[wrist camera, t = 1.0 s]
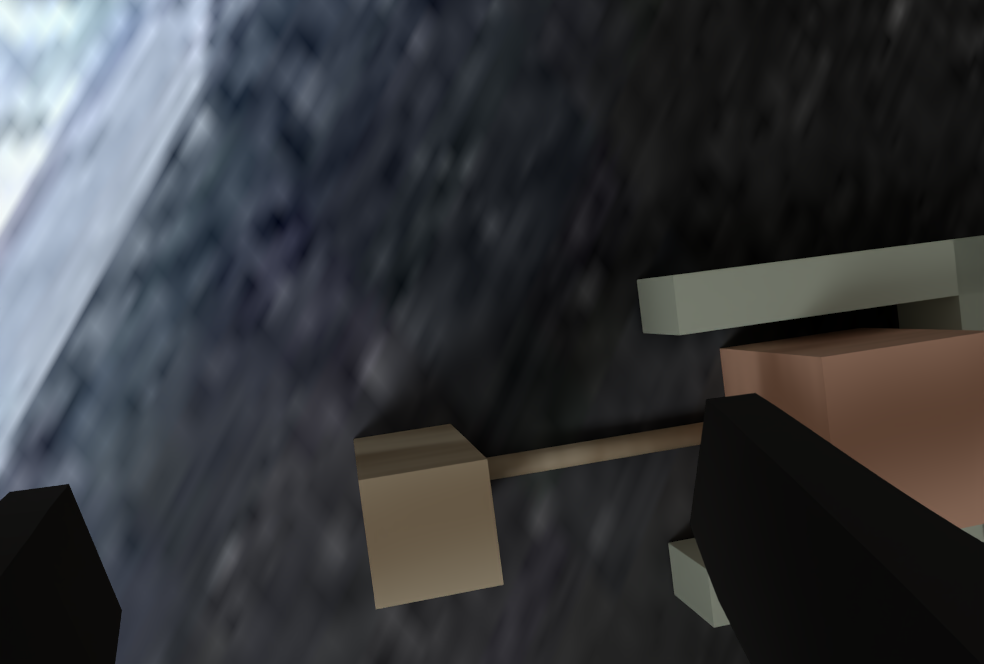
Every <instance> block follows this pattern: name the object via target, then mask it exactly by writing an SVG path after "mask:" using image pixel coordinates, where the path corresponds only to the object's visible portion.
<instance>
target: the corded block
mask: <svg viewBox="0 0 984 664" xmlns="http://www.w3.org/2000/svg"><path fill="white" fill-rule="evenodd" d="M720 355H721V363H722V372H723V381H724V389H725V397H727V396H735V395H742V394H750V393H756V394H758V395H760V396H761V397H763V398H764V399H766V400H768V401H769V402H771V403H772V404H774V405H775V406H777V407H778V408H780V409H781V410H783V411H784V412H786V413H787V414H789V415H790V416H792V417H793V418H795V419H796V420H797V421H799V422H800V423H802V424H803V425H805V426H806V427H808V428H809V429H811V430H812V431H814V432H815V433H816V434H818V435H819V436H821V437H822V438H824V439H825V440H827V441H828V442H830V443H831V444H832V445H834V446H835V447H837V448H838V449H840V450H841V451H843V452H844V453H846V454H847V455H849V456H850V457H851V458H853V459H854V460H856V461H857V462H859V463H860V464H862V465H863V466H865V467H866V468H868V469H869V470H871V471H872V472H874V473H875V474H877V475H878V476H880V477H881V478H883V479H884V480H886V481H887V482H889V483H890V484H892V485H893V486H895V487H896V488H898V489H899V490H901V491H902V492H904V493H905V494H907V495H908V496H910V497H911V498H913V499H914V500H916V501H918V502H919V503H921V504H922V505H924V506H925V507H927V508H928V509H930V510H932V511H933V512H935V513H936V514H938V515H940V516H941V517H943V518H944V519H946V520H948V521H949V522H951V523H952V524H954V525H956V526H957V527H959V528H960V529H961V528H966V527H971V526H976V525H981V524H984V331H979V330H937V329H894V328H855V329H848V330H841V331H835V332H828V333H821V334H814V335H808V336H801V337H794V338H787V339H780V340H774V341H767V342H760V343H753V344H747V345H740V346H733V347H726V348H720ZM702 428H703V422H700V423H694V424H688V425H682V426H676V427H670V428H664V429H658V430H652V431H646V432H639V433H633V434H627V435H621V436H615V437H609V438H603V439H597V440H591V441H585V442H579V443H573V444H567V445H561V446H554V447H548V448H542V449H536V450H530V451H524V452H518V453H512V454H506V455H500V456H494V457H488V458H486V457H485V456H483V455H482V454H481V453H480V452H479V451H478V450H477V449H476V448H475V447H474V446H473V445H472V444H471V443H470V442H469V441H468V440H467V439H466V438H465V437H464V436H463V435H462V434H461V433H460V432H459V431H458V430H457V429H455V428H454V427H453V426H452V425H451V424H446V425H440V426H433V427H427V428H420V429H414V430H408V431H401V432H395V433H388V434H382V435H375V436H369V437H363V438H356V439H353V440H354V448H355V456H356V464H357V472H358V480H359V488H360V495H361V502H362V510H363V517H364V524H365V532H366V539H367V546H368V554H369V561H370V568H371V576H372V583H373V590H374V598H375V605H376V609H380V608H385V607H390V606H396V605H401V604H406V603H411V602H416V601H421V600H426V599H432V598H437V597H442V596H447V595H452V594H457V593H462V592H468V591H473V590H478V589H483V588H488V587H493V586H499V585H503V577H502V569H501V561H500V554H499V546H498V538H497V530H496V523H495V515H494V507H493V499H492V492H491V484H490V480H494V479H500V478H506V477H512V476H517V475H523V474H529V473H535V472H541V471H547V470H553V469H559V468H564V467H570V466H576V465H582V464H588V463H594V462H600V461H606V460H612V459H617V458H623V457H629V456H635V455H641V454H647V453H653V452H659V451H665V450H670V449H676V448H682V447H688V446H694V445H700V443H701V436H702Z"/></svg>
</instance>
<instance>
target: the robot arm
mask: <svg viewBox="0 0 984 664" xmlns="http://www.w3.org/2000/svg"><path fill="white" fill-rule="evenodd" d="M690 526H691V529H692V531H693V534H694V537H695V540H696V543H697V545H698V548H699V551H700V554H701V556H702V559H703V562H704V565H705V567H706V570H707V573H708V575H709V578H710V580H711V583H712V585H713V588H714V591H715V593H716V596H717V598H718V601H719V603H720V605H721V607H722V609H723V611H724V613H725V615H726V617H727V619H728V621H729V623H730V625H731V626H732V628H733V630H734V632H735V634H736V636H737V638H738V640H739V642H740V644H741V646H742V648H743V650H744V652H745V653H746V655H747V657H748V659H749V661H750V663H751V664H984V542H982V541H980V540H979V539H977V538H975V537H974V536H972V535H970V534H969V533H967V532H965V531H964V530H962V529H960V528H959V527H957V526H956V525H954V524H952V523H951V522H949V521H948V520H946V519H944V518H943V517H941V516H940V515H938V514H936V513H935V512H933V511H932V510H930V509H928V508H927V507H925V506H924V505H922V504H921V503H919V502H918V501H916V500H914V499H913V498H911V497H910V496H908V495H907V494H905V493H904V492H902V491H901V490H899V489H898V488H896V487H895V486H893V485H892V484H890V483H889V482H887V481H886V480H884V479H883V478H881V477H880V476H878V475H877V474H875V473H874V472H872V471H871V470H869V469H868V468H866V467H865V466H863V465H862V464H860V463H859V462H857V461H856V460H854V459H853V458H851V457H850V456H849V455H847V454H846V453H844V452H843V451H841V450H840V449H838V448H837V447H835V446H834V445H832V444H831V443H830V442H828V441H827V440H825V439H824V438H822V437H821V436H819V435H818V434H816V433H815V432H814V431H812V430H811V429H809V428H808V427H806V426H805V425H803V424H802V423H800V422H799V421H797V420H796V419H795V418H793V417H792V416H790V415H789V414H787V413H786V412H784V411H783V410H781V409H780V408H778V407H777V406H775V405H774V404H772V403H771V402H769V401H768V400H766V399H764V398H763V397H761V396H760V395H758V394H756V393H750V394H742V395H735V396H727V397H720V398H712V399H706V405H705V413H704V421H703V428H702V436H701V443H700V451H699V459H698V466H697V474H696V481H695V489H694V497H693V504H692V512H691V519H690ZM121 613H122V610H121V607H120V605H119V602H118V600H117V598H116V595H115V593H114V591H113V588H112V586H111V583H110V581H109V579H108V576H107V574H106V572H105V569H104V567H103V564H102V562H101V560H100V557H99V555H98V552H97V550H96V548H95V545H94V543H93V541H92V538H91V536H90V533H89V531H88V529H87V526H86V524H85V521H84V519H83V517H82V514H81V512H80V510H79V507H78V505H77V502H76V500H75V498H74V495H73V493H72V490H71V488H70V486H69V484H66V485H59V486H51V487H44V488H36V489H29V490H21V491H14V492H9V493H8V494H7V495H6V496H5V497H4V498H3V499H2V500H1V501H0V664H115V660H116V652H117V644H118V636H119V629H120V621H121Z"/></svg>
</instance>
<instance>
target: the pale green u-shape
mask: <svg viewBox="0 0 984 664" xmlns="http://www.w3.org/2000/svg"><path fill="white" fill-rule="evenodd" d="M637 286H638V294H639V303H640V311H641V319H642V328H643V333H652V334H669V335H684V334H691V333H698V332H705V331H712V330H719V329H726V328H733V327H740V326H747V325H754V324H761V323H768V322H775V321H782V320H789V319H796V318H803V317H810V316H817V315H824V314H831V313H838V312H845V311H852V310H859V309H866V308H873V307H880V306H887V305H894V304H897V310H898V319H899V329H937V330H979V331H984V235H983V236H974V237H966V238H958V239H950V240H942V241H934V242H926V243H919V244H911V245H903V246H895V247H887V248H880V249H872V250H864V251H856V252H849V253H841V254H833V255H825V256H817V257H810V258H802V259H794V260H786V261H779V262H771V263H763V264H755V265H748V266H740V267H732V268H724V269H716V270H709V271H701V272H693V273H685V274H678V275H670V276H662V277H654V278H647V279H639V280H637ZM961 529H962V530H964V531H965V532H967V533H969V534H970V535H972V536H974V537H975V538H977V539H979V540H980V541H982V542H984V524H981V525H976V526H971V527H966V528H961ZM668 545H669V553H670V562H671V570H672V578H673V587H674V595H676V596H677V597H678V598H679V599H680V600H682V601H683V602H684V603H685V604H686V605H688V606H689V607H690V608H691V609H692V610H694V611H695V612H696V613H697V614H698V615H700V616H701V617H702V618H703V619H704V620H706V621H707V622H708V623H709V624H710V625H712V626H713V627H714V628H715V627H719V626H724V625H729V624H730V623H729V621H728V619H727V617H726V615H725V613H724V611H723V609H722V607H721V605H720V603H719V601H718V598H717V596H716V593H715V591H714V588H713V585H712V583H711V580H710V578H709V575H708V573H707V570H706V567H705V565H704V562H703V559H702V556H701V554H700V551H699V548H698V545H697V543H696V540H695V538H691V539H685V540H680V541H675V542H670V543H668Z"/></svg>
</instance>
